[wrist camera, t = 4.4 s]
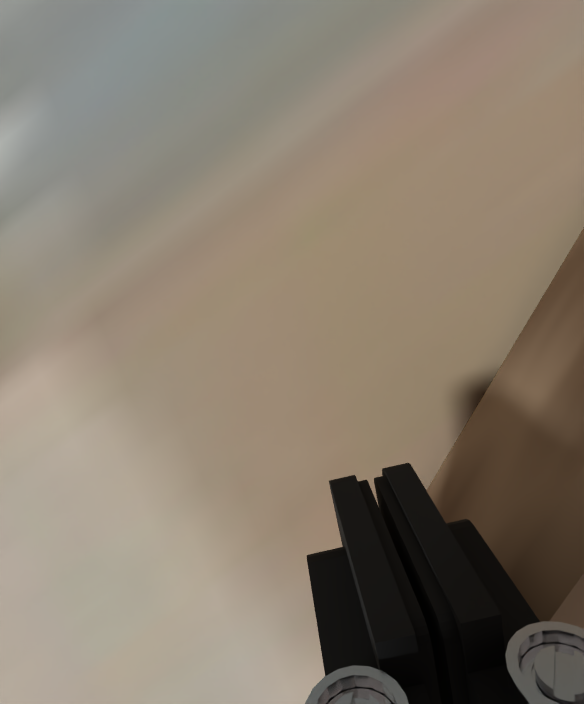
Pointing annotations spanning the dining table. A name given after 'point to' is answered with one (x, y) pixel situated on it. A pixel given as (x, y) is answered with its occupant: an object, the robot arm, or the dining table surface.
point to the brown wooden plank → (531, 455)
